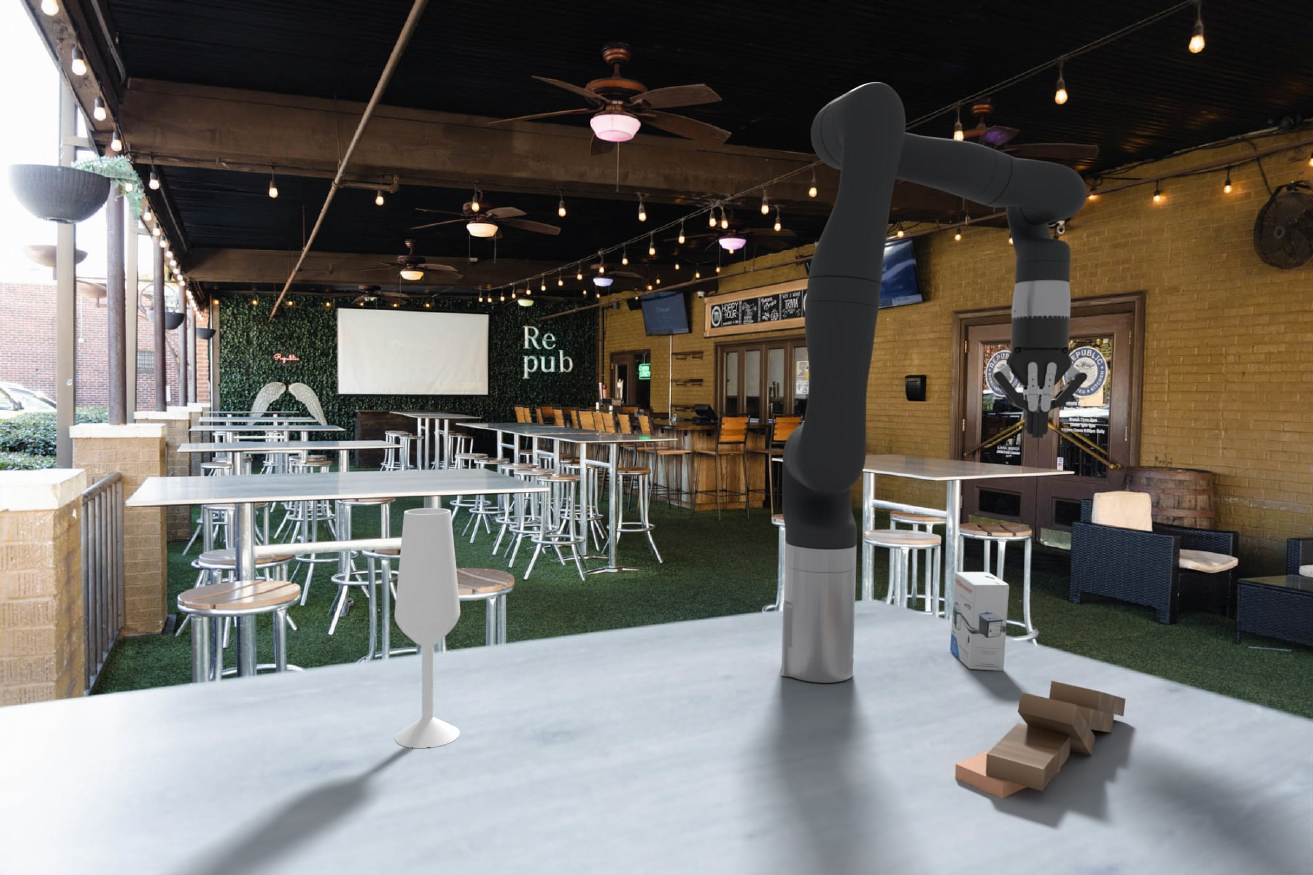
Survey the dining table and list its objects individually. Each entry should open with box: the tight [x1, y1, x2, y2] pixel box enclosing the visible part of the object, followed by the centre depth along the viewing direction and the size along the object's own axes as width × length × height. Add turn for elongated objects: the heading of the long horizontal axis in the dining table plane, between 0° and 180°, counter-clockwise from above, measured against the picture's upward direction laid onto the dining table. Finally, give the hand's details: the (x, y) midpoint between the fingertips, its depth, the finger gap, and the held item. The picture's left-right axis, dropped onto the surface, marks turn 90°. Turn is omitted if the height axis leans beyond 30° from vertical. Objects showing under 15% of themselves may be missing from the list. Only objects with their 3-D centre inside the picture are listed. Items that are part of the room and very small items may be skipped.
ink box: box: [950, 571, 1010, 672], centre depth 119 cm, size 9×5×12 cm, turn 179°
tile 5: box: [954, 749, 1061, 799], centre depth 84 cm, size 2×5×10 cm
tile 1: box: [1048, 680, 1126, 717], centre depth 97 cm, size 2×5×10 cm
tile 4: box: [986, 722, 1071, 792], centre depth 83 cm, size 2×5×10 cm
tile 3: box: [1017, 692, 1096, 757], centre depth 87 cm, size 2×5×10 cm
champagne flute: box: [394, 507, 461, 749], centre depth 91 cm, size 7×7×24 cm
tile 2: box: [1076, 705, 1115, 733], centre depth 93 cm, size 2×5×10 cm
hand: (1035, 437), depth 122 cm, fingers closed
